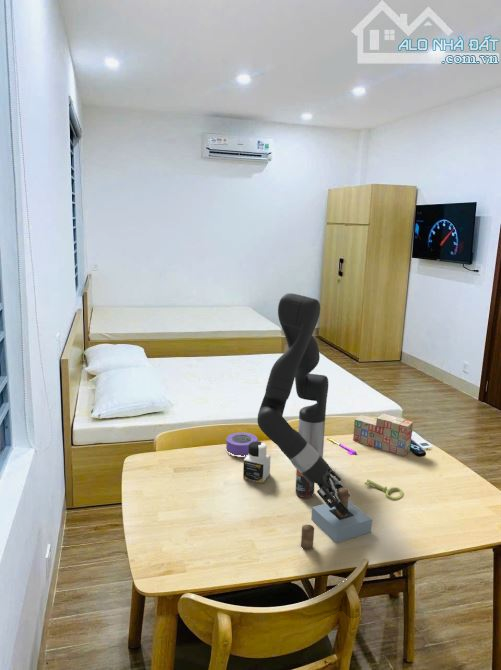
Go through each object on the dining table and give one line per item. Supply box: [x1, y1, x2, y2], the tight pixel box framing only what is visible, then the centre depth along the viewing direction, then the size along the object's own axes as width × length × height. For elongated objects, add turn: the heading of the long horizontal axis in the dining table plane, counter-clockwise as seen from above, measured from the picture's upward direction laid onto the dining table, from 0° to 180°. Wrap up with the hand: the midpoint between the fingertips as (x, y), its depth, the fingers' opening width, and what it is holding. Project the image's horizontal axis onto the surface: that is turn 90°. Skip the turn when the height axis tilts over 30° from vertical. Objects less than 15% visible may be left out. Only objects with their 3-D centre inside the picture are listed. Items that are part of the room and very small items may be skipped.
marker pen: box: [326, 437, 358, 456], centre depth 193 cm, size 3×1×16 cm
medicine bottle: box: [242, 440, 271, 484], centre depth 167 cm, size 7×7×12 cm
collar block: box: [311, 499, 373, 544], centre depth 141 cm, size 12×12×4 cm
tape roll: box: [225, 432, 258, 456], centre depth 187 cm, size 12×12×5 cm
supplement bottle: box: [295, 468, 315, 498], centre depth 157 cm, size 6×6×11 cm
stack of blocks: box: [352, 413, 414, 457], centre depth 194 cm, size 21×6×12 cm, turn 52°
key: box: [364, 479, 404, 501], centre depth 160 cm, size 7×12×2 cm, turn 68°
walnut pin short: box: [300, 524, 315, 551], centre depth 131 cm, size 3×3×6 cm
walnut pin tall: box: [335, 487, 350, 520], centre depth 140 cm, size 3×3×11 cm
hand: (347, 505), depth 140 cm, fingers open, 8 cm apart
